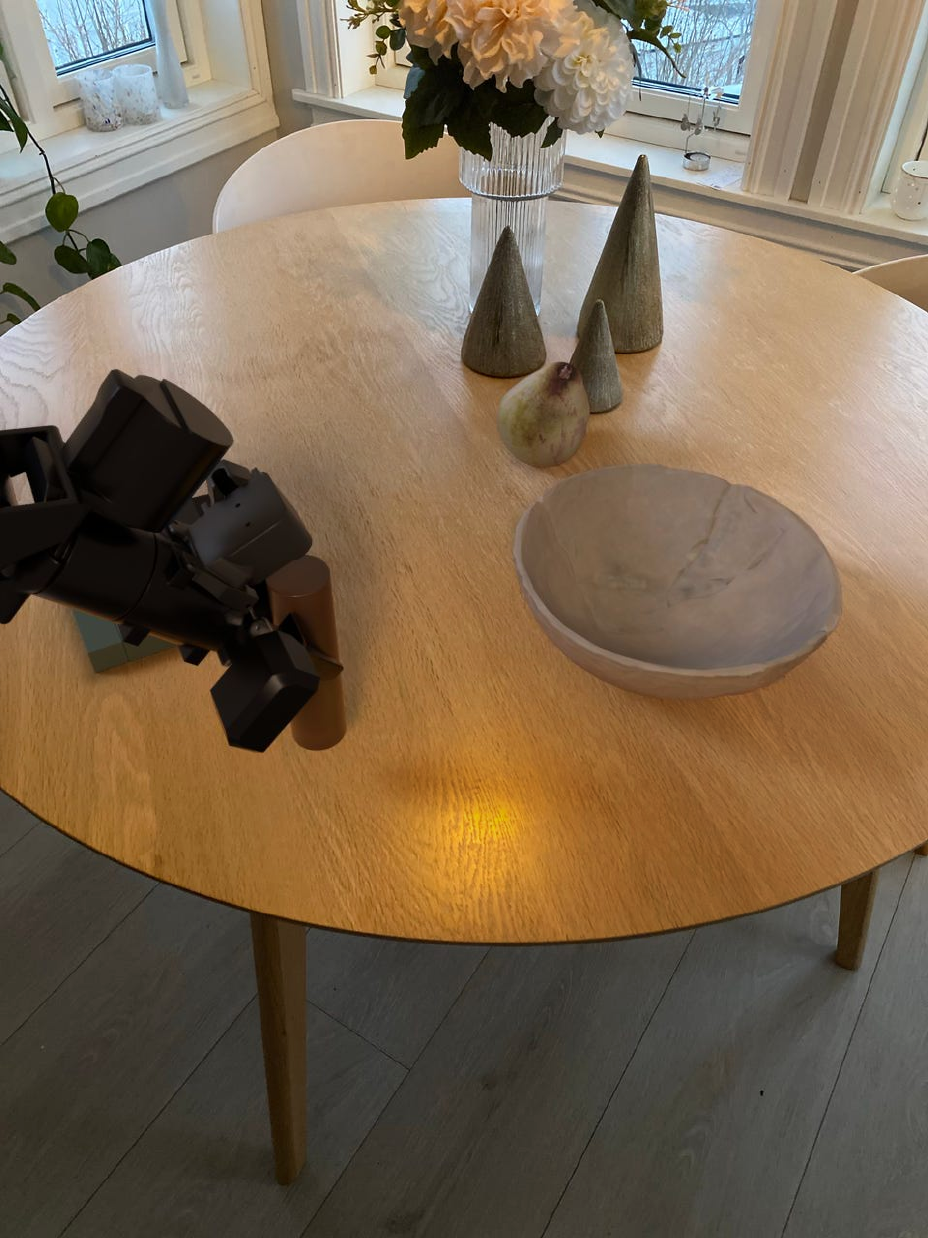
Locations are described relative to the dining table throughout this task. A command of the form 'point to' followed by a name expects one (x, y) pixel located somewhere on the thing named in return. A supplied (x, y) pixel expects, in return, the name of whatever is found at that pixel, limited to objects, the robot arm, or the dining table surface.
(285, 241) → the dining table surface
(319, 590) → the dowel
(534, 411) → the fruit
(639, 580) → the bowl
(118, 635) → the board
